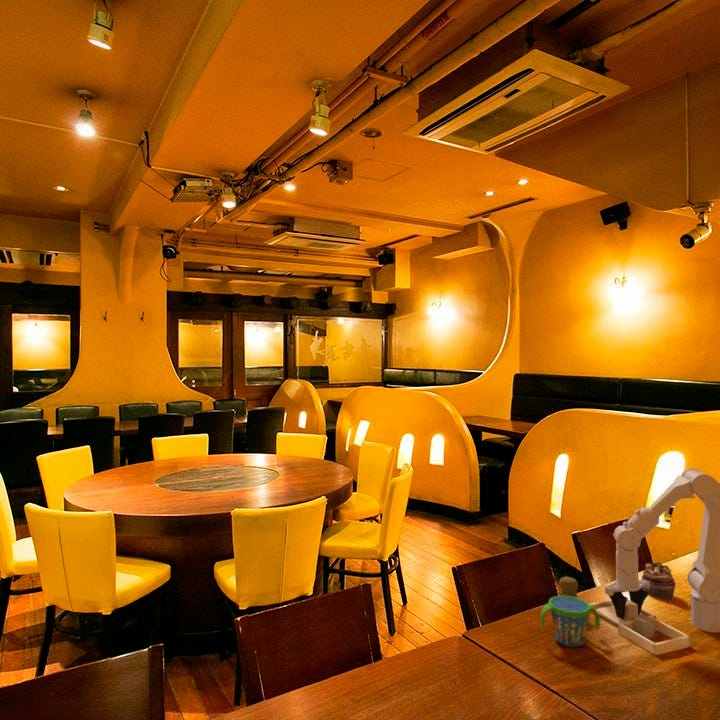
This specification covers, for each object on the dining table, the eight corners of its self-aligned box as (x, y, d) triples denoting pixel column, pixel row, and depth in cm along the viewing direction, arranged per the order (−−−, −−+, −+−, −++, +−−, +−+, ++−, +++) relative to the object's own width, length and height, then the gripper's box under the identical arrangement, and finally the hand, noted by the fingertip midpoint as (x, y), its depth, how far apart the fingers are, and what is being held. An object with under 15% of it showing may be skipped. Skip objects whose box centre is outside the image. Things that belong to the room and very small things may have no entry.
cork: (574, 610, 160) (574, 574, 160) (583, 620, 154) (583, 582, 154) (555, 611, 160) (554, 574, 160) (563, 620, 154) (562, 582, 154)
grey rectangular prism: (643, 630, 146) (643, 614, 146) (654, 637, 143) (654, 620, 143) (633, 633, 145) (633, 616, 145) (644, 639, 142) (644, 622, 142)
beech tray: (620, 604, 164) (620, 597, 164) (656, 623, 152) (656, 616, 152) (584, 611, 160) (584, 604, 160) (618, 631, 147) (617, 624, 147)
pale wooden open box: (651, 628, 149) (651, 616, 149) (690, 650, 137) (690, 636, 137) (618, 636, 145) (617, 623, 145) (655, 659, 133) (655, 645, 133)
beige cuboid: (627, 614, 155) (627, 599, 155) (638, 620, 152) (637, 604, 152) (618, 616, 154) (618, 601, 154) (628, 622, 150) (627, 606, 150)
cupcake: (634, 592, 173) (634, 561, 173) (658, 587, 176) (657, 557, 176) (659, 604, 164) (658, 572, 164) (683, 600, 167) (682, 568, 167)
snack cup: (593, 632, 147) (592, 595, 147) (607, 652, 137) (606, 613, 137) (535, 630, 149) (535, 594, 149) (545, 650, 138) (544, 611, 138)
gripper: (635, 560, 159) (636, 606, 159) (596, 567, 154) (597, 614, 154) (655, 569, 152) (656, 616, 152) (615, 576, 148) (616, 625, 147)
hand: (628, 616), depth 153 cm, fingers open, 5 cm apart
